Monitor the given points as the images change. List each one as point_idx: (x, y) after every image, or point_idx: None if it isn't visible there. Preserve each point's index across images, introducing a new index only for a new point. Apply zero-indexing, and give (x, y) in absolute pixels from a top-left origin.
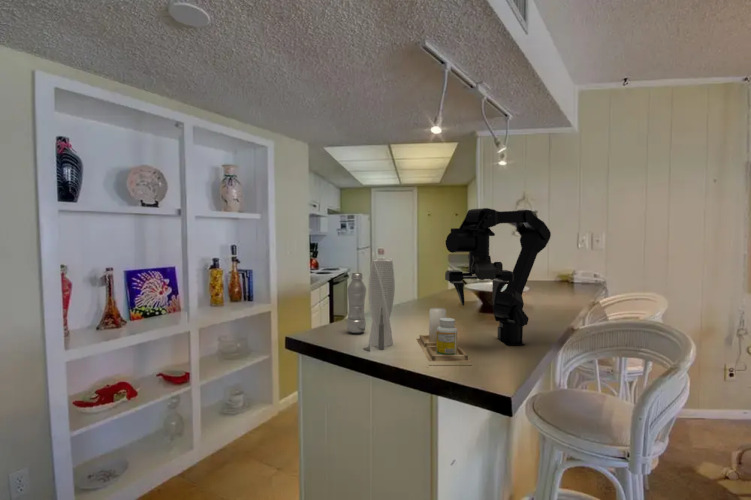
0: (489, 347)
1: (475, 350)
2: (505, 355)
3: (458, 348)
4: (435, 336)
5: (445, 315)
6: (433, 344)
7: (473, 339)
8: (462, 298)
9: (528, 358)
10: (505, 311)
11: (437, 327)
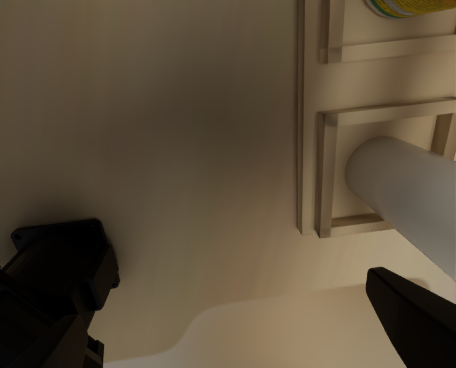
0: (162, 186)
1: (227, 136)
2: (109, 74)
3: (343, 13)
4: (420, 147)
5: (447, 216)
6: (423, 102)
7: (206, 277)
8: (445, 310)
9: (4, 34)
10: (11, 331)
11: (448, 160)
